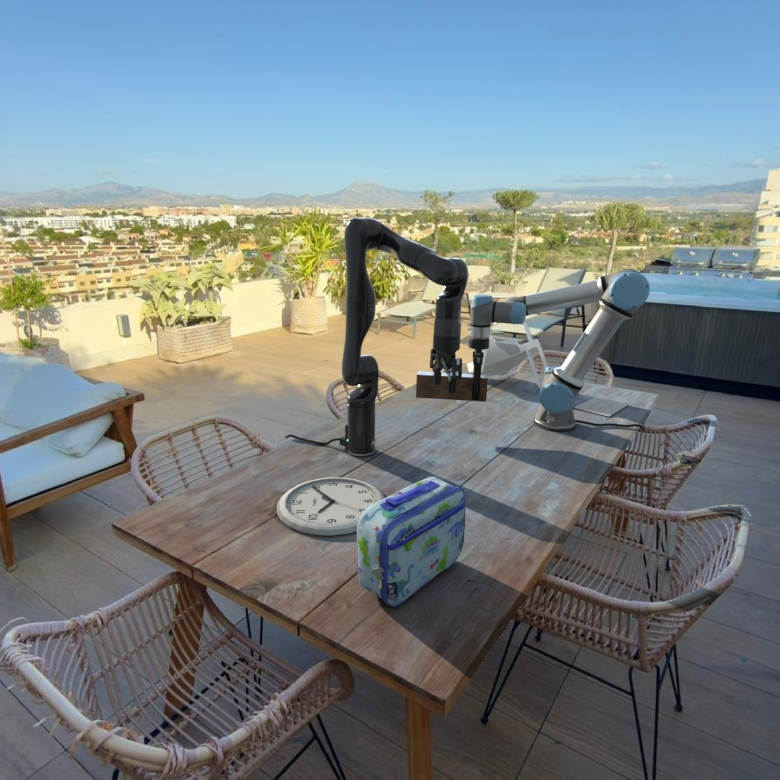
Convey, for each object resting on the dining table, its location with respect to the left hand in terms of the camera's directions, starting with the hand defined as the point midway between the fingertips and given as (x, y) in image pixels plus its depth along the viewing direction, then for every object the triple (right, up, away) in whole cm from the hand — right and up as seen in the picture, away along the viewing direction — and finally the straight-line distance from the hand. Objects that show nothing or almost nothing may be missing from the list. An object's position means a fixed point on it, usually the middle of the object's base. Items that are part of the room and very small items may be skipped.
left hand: (444, 388), depth 149 cm
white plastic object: (+41, +2, +107) cm, 115 cm away
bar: (+8, -3, +51) cm, 52 cm away
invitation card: (+76, -8, +77) cm, 109 cm away
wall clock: (-31, -32, -6) cm, 45 cm away
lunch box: (-11, -41, -35) cm, 56 cm away
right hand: (+17, -3, +50) cm, 53 cm away
